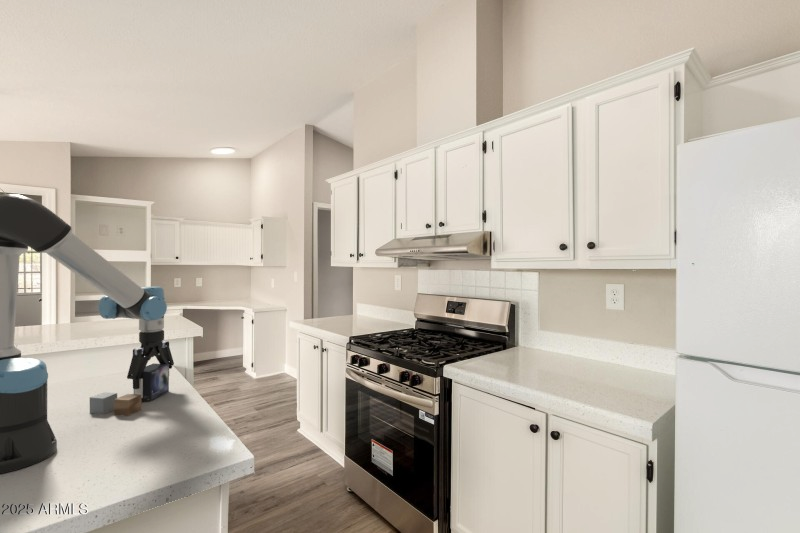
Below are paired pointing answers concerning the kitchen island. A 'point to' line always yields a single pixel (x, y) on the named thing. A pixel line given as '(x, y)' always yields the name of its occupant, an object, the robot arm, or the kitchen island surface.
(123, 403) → the walnut block
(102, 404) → the slate-grey block
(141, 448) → the kitchen island surface
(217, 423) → the kitchen island surface
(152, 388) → the small box
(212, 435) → the kitchen island surface
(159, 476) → the kitchen island surface
